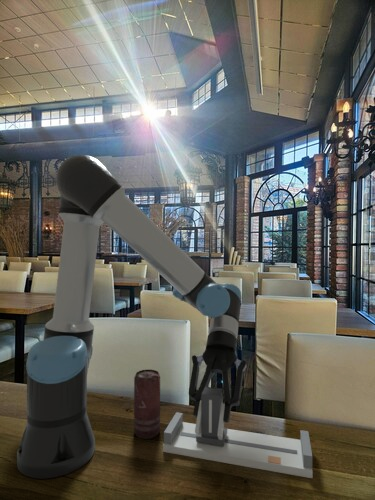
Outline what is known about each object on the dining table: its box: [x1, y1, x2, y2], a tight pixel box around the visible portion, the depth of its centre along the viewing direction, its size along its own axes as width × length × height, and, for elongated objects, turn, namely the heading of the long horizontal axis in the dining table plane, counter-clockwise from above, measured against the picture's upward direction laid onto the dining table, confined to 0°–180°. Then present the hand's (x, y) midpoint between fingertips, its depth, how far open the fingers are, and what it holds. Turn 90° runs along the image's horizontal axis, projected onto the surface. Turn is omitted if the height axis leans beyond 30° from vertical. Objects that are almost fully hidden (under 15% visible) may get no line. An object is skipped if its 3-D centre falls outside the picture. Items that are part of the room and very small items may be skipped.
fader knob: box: [196, 386, 228, 446], centre depth 73 cm, size 6×5×10 cm
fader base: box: [162, 412, 314, 479], centre depth 71 cm, size 30×10×4 cm, turn 75°
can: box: [133, 369, 161, 440], centre depth 78 cm, size 6×6×14 cm
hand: (208, 435), depth 69 cm, fingers closed on fader knob, 4 cm apart
